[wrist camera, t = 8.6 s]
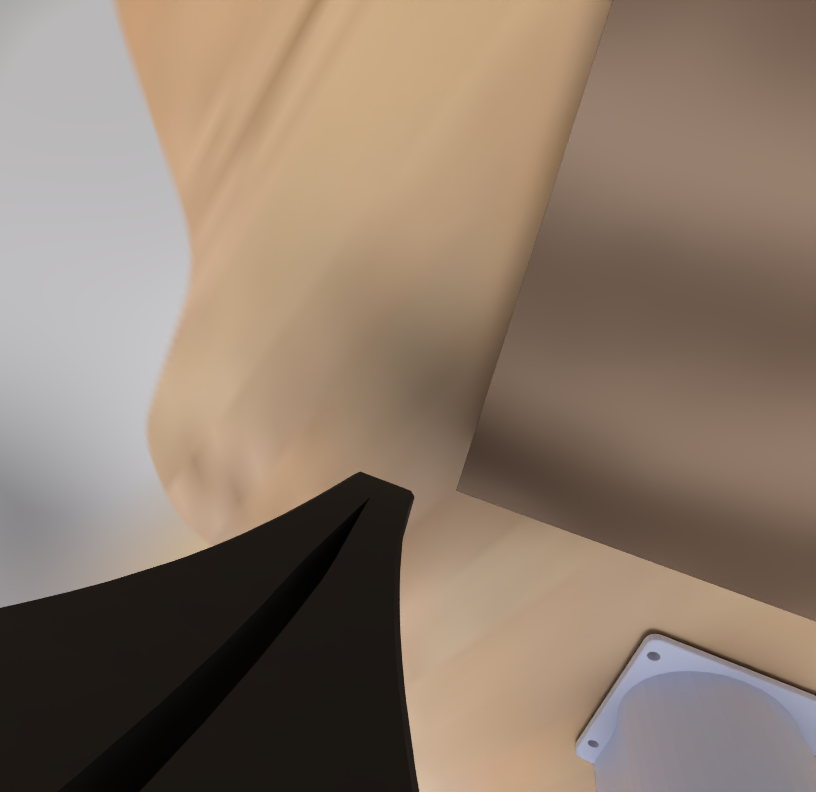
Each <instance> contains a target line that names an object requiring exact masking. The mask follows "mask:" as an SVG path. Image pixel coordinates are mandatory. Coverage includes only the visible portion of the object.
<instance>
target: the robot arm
mask: <svg viewBox="0 0 816 792" xmlns="http://www.w3.org/2000/svg"><path fill="white" fill-rule="evenodd" d="M413 500H414V495H413V494H412V492H411V491H410V490H407V489H405V488H402V487H399V486H397V485H394V484H391V483H389V482H386V481H383V480H381V479H378V478H376V477H373V476H370V475H368V474H365V473H362V472H358V473H356V474H354V475H352V476H351V477H349V478H347V479H346V480H344V481H342V482H341V483H339V484H337V485H336V486H334V487H332V488H330V489H329V490H327V491H325V492H323V493H322V494H320V495H318V496H316V497H315V498H313V499H311V500H309V501H307V502H306V503H304V504H302V505H300V506H298V507H296V508H294V509H292V510H291V511H289V512H287V513H285V514H283V515H281V516H279V517H277V518H275V519H273V520H271V521H269V522H267V523H264V524H262V525H260V526H258V527H256V528H254V529H252V530H250V531H248V532H245V533H243V534H241V535H239V536H237V537H234V538H232V539H230V540H227V541H225V542H222V543H220V544H218V545H215V546H213V547H210V548H208V549H205V550H202V551H200V552H197V553H195V554H192V555H189V556H187V557H184V558H181V559H178V560H175V561H172V562H169V563H166V564H163V565H160V566H157V567H153V568H150V569H147V570H144V571H141V572H137V573H134V574H131V575H128V576H124V577H121V578H118V579H115V580H112V581H108V582H105V583H101V584H97V585H94V586H89V587H86V588H82V589H78V590H74V591H71V592H67V593H62V594H58V595H54V596H50V597H46V598H42V599H38V600H33V601H29V602H25V603H20V604H16V605H11V606H7V607H3V608H0V792H419V788H418V782H417V776H416V770H415V763H414V755H413V748H412V741H411V734H410V726H409V719H408V712H407V704H406V696H405V686H404V675H403V665H402V651H401V635H400V565H401V552H402V541H403V536H404V532H405V529H406V525H407V522H408V518H409V515H410V511H411V507H412V504H413ZM649 652H656V653H649ZM575 750H576V754H577V755H578V756H579V757H580V758H581V759H583V760H585V761H588V762H590V763H592V764H594V770H595V781H596V791H597V792H816V758H815V757H814V756H815V755H816V696H815V695H813V694H810V693H808V692H805V691H803V690H800V689H798V688H795V687H792V686H790V685H787V684H785V683H782V682H780V681H777V680H775V679H772V678H770V677H767V676H765V675H762V674H759V673H757V672H754V671H752V670H749V669H747V668H744V667H742V666H739V665H737V664H734V663H731V662H729V661H726V660H724V659H721V658H719V657H716V656H714V655H711V654H709V653H706V652H704V651H701V650H698V649H696V648H693V647H691V646H688V645H686V644H683V643H681V642H678V641H676V640H673V639H671V638H668V637H665V636H663V635H660V634H650V635H648V636H647V637H646V638H645V639H644V640H643V642H642V643H641V645H640V646H639V648H638V650H637V651H636V653H635V654H634V656H633V657H632V659H631V660H630V662H629V663H628V665H627V666H626V668H625V669H624V671H623V672H622V674H621V675H620V677H619V678H618V680H617V681H616V683H615V684H614V686H613V687H612V689H611V690H610V692H609V693H608V695H607V697H606V698H605V700H604V701H603V703H602V704H601V706H600V707H599V709H598V710H597V712H596V713H595V715H594V716H593V718H592V719H591V721H590V722H589V724H588V725H587V727H586V728H585V730H584V731H583V733H582V734H581V736H580V737H579V739H578V740H577V742H576V744H575Z"/></svg>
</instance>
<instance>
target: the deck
mask: <svg viewBox="0 0 816 792" xmlns="http://www.w3.org/2000/svg"><path fill="white" fill-rule="evenodd" d="M456 491H459V492H461V493H464V494H467V495H470V496H472V497H475V498H478V499H481V500H483V501H486V502H489V503H492V504H494V505H497V506H500V507H503V508H505V509H508V510H511V511H514V512H516V513H519V514H522V515H525V516H527V517H530V518H533V519H536V520H538V521H541V522H544V523H547V524H549V525H552V526H555V527H558V528H560V529H563V530H566V531H569V532H571V533H574V534H577V535H579V536H582V537H585V538H588V539H590V540H593V541H596V542H599V543H601V544H604V545H607V546H610V547H612V548H615V549H618V550H621V551H623V552H626V553H629V554H632V555H634V556H637V557H640V558H643V559H645V560H648V561H651V562H654V563H656V564H659V565H662V566H665V567H667V568H670V569H673V570H676V571H678V572H681V573H684V574H687V575H689V576H692V577H695V578H698V579H700V580H703V581H706V582H709V583H711V584H714V585H717V586H720V587H722V588H725V589H728V590H731V591H733V592H736V593H739V594H742V595H744V596H747V597H750V598H753V599H755V600H758V601H761V602H764V603H766V604H769V605H772V606H775V607H777V608H780V609H783V610H786V611H788V612H791V613H794V614H797V615H799V616H802V617H805V618H808V619H810V620H813V621H816V0H613V2H612V5H611V8H610V12H609V15H608V18H607V21H606V24H605V27H604V30H603V33H602V37H601V40H600V43H599V46H598V49H597V52H596V55H595V58H594V62H593V65H592V68H591V71H590V74H589V77H588V80H587V83H586V87H585V90H584V93H583V96H582V99H581V102H580V105H579V108H578V112H577V115H576V118H575V121H574V124H573V127H572V130H571V133H570V137H569V140H568V143H567V146H566V149H565V152H564V155H563V158H562V162H561V165H560V168H559V171H558V174H557V177H556V180H555V183H554V187H553V190H552V193H551V196H550V199H549V202H548V205H547V208H546V212H545V215H544V218H543V221H542V224H541V227H540V230H539V233H538V237H537V240H536V243H535V246H534V249H533V252H532V255H531V258H530V262H529V265H528V268H527V271H526V274H525V277H524V280H523V283H522V286H521V290H520V293H519V296H518V299H517V302H516V305H515V308H514V311H513V315H512V318H511V321H510V324H509V327H508V330H507V333H506V336H505V340H504V343H503V346H502V349H501V352H500V355H499V358H498V361H497V365H496V368H495V371H494V374H493V377H492V380H491V383H490V386H489V390H488V393H487V396H486V399H485V402H484V405H483V408H482V411H481V415H480V418H479V421H478V424H477V427H476V430H475V433H474V436H473V440H472V443H471V446H470V449H469V452H468V455H467V458H466V461H465V465H464V468H463V471H462V474H461V477H460V480H459V483H458V486H457V490H456Z"/></svg>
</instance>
